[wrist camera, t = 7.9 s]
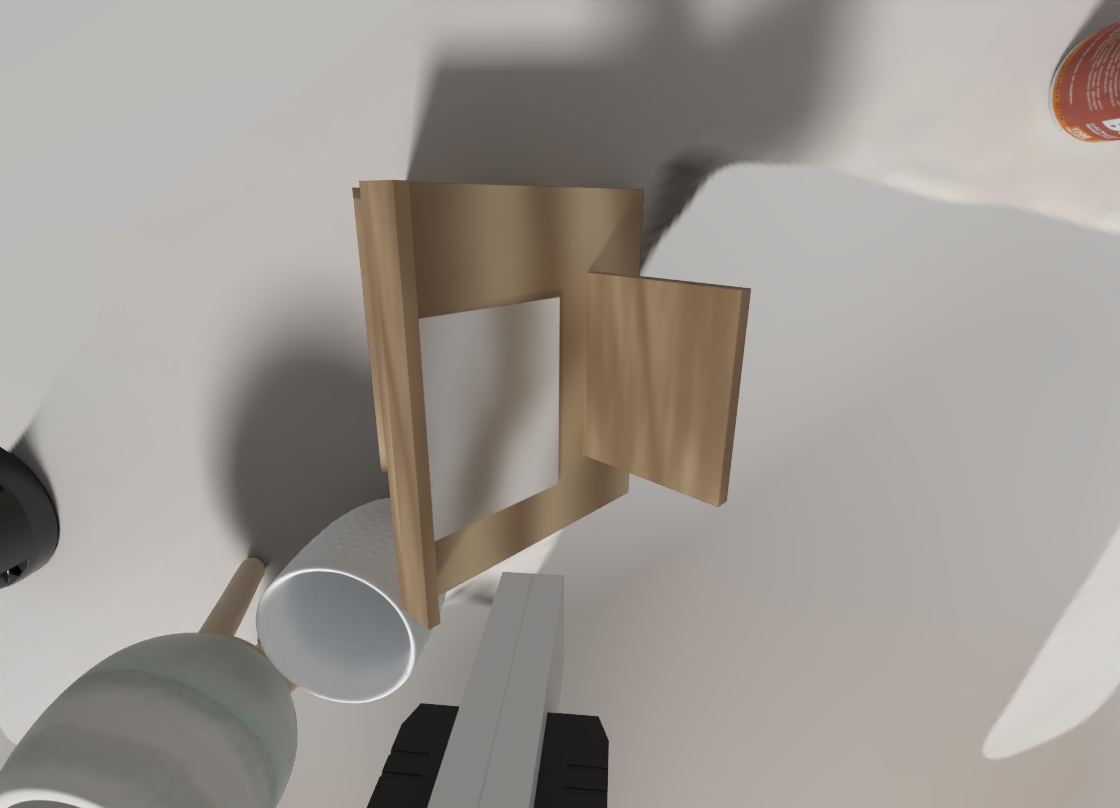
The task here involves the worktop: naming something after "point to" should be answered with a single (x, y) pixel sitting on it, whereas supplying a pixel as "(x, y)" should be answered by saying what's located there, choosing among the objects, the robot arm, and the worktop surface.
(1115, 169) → the worktop surface
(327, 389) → the worktop surface
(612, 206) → the lid
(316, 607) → the mug
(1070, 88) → the pill bottle
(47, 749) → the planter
